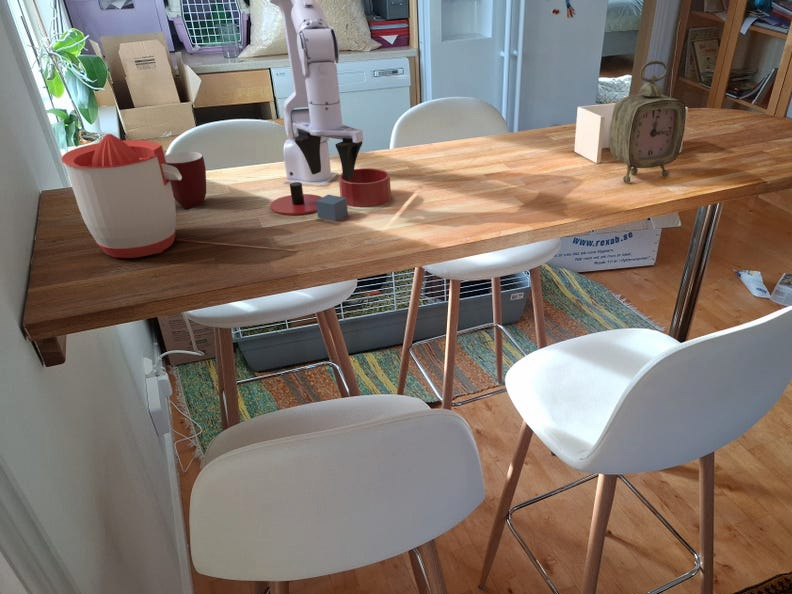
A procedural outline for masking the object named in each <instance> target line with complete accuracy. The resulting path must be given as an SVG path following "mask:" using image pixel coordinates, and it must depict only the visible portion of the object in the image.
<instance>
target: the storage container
mask: <svg viewBox="0 0 792 594" xmlns="http://www.w3.org/2000/svg"><path fill="white" fill-rule="evenodd" d="M615 104H616V102H615V103H613V102H612V103H604V104H594V105H582V106H577V110H576V111H577V112H576V124H575V137H574V150H573V151H574V152H575V153H577V154H578V155H580V156H582V157H584V158H586V159H587V160H590V161H592V162H593V163H595V164H600V163H601V160H602V153H603V152H602V151H603V149H610V127H611V121H612V114H613V110H614V106H615ZM685 108H686V118H685V126H686V125H687V118H688V113H689V112H688V111H689V107H687V106H685ZM685 131H686V127H685V128H684V132H685ZM684 136H685V133H684V134H683V139H682V144H681V147H680V151H679V154H680V153H682V151H683V143H684Z"/></svg>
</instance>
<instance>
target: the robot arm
mask: <svg viewBox="0 0 792 594" xmlns="http://www.w3.org/2000/svg"><path fill="white" fill-rule="evenodd" d="M269 3H270V4H272V5H274V6H276V7H278V8H279V11H280V13H281V16H282V19H283V26H284V32H285V41H286V47H287V54H288V62H289V69H290V75H291V81H292V88H293V92H292V93H291V94H290V95H289V96H288V97H287V98H286V99H285V100H284V101H283V104H282V110H283V111H282V112H283V113H282V114H283V115H282V116H283V125H284V130H285V133H286V137H287V138H288V139H286V140H285V142H284V144H283V149H282V150H283V152H282V153H283V160H284V167H285V175H286V180H285V182H289V183H293V182H300V183H302V184H303V183H304V184H319V185H326V184H327V183H329V182H330V181H331V180H332V179H333V178H335V177H336V176H339V173H338V172H332V168H331V161H330V160H331V159H330V151H329V150H330V149H329V143H328V142H329V141H330V139H336V140H341V141H340V142H337V143H335V148H336V150H337V153H338V156H339V159H340V164H341V171H342V172H341V173H343V177H344V180H349V179H351V178H353V175H354V169H356V168H355V167H356V162H357V159H358V155H359V153H360V150H361V148H362V145H363V141H364V131H363V129H359V128H356V127H355V128H354V127H351V126H348V125H345V124H343V118H342V107H341V98H340V96H341V95H340V89H339V80H338V79H339V77H338V67H337V64H338V63H339V60H340V48H339V41H338V37H337V33H336V30H335V28H334V26H332V25H330V24H329V25H328V22H327V19H326V16H325V13H324V11H323V8H322V6H321V5H320V3H318V2H317V1H316V0H269Z"/></svg>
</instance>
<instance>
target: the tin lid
mask: <svg viewBox="0 0 792 594" xmlns="http://www.w3.org/2000/svg"><path fill="white" fill-rule="evenodd" d="M289 190H290V195H284V196H281V197H278V198H276V199H273V201H271V203H270V205H269V208H270V210H271V211H272V212H273V213H275V214H277V215H283V216H304V215H310V214H314V213H317V207H316V200H318V199H320V198H322V197H323V196H320V195H317V194H312V193H304V189H303V182H289Z"/></svg>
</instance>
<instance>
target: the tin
mask: <svg viewBox="0 0 792 594" xmlns="http://www.w3.org/2000/svg"><path fill="white" fill-rule="evenodd" d="M338 187H339V195H340V196H339V197H344V198H346V200H347V207H353V208H374V207H379V206H383V205H385V204H387V203H389V202H390V201H391V200H392V191H391V189H392V188H391V174H390V172H388V171H386V170H383V169H381V168H374V167H373V168H371V167H363V168H361V167H360V168H354V175H353V178H351V179H349V180H344V177H343V172H341V173H340V174H338Z"/></svg>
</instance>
